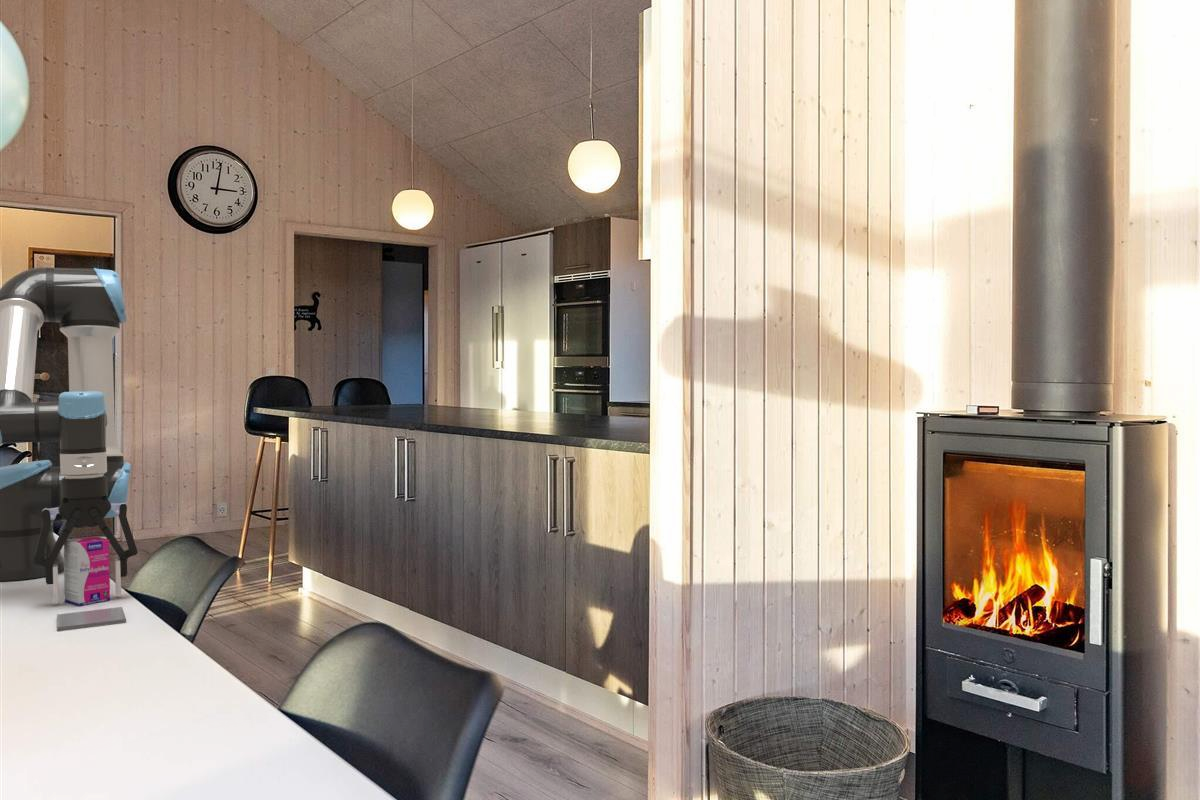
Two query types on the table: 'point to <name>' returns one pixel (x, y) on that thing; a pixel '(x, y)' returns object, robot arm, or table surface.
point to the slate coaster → (90, 618)
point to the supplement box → (86, 570)
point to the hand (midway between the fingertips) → (87, 598)
